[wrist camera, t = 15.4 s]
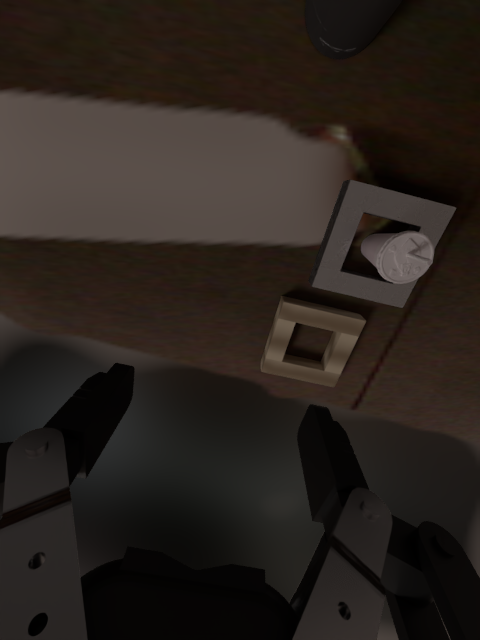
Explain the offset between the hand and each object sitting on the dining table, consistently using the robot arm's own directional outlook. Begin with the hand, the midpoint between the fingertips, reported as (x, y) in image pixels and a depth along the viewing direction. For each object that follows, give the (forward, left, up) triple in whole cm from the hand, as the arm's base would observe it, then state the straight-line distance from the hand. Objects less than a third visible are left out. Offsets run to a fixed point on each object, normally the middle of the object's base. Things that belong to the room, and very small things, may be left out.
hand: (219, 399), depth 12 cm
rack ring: (-6, +19, -33) cm, 39 cm away
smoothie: (-6, +19, -33) cm, 39 cm away
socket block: (+12, +15, -33) cm, 38 cm away
